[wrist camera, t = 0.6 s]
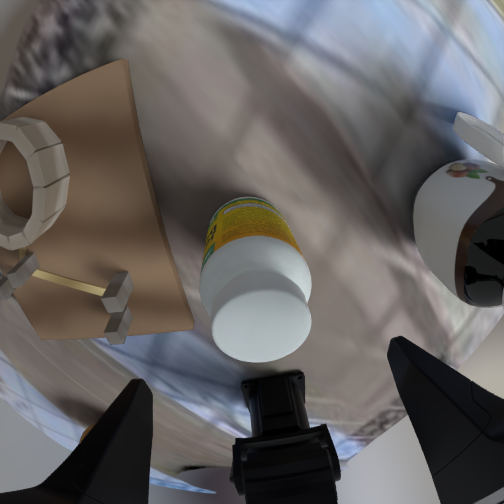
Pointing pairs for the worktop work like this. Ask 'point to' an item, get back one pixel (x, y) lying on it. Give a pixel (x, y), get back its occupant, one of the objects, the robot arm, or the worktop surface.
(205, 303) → the supplement bottle
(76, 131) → the board
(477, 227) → the spread jar
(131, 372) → the worktop surface
